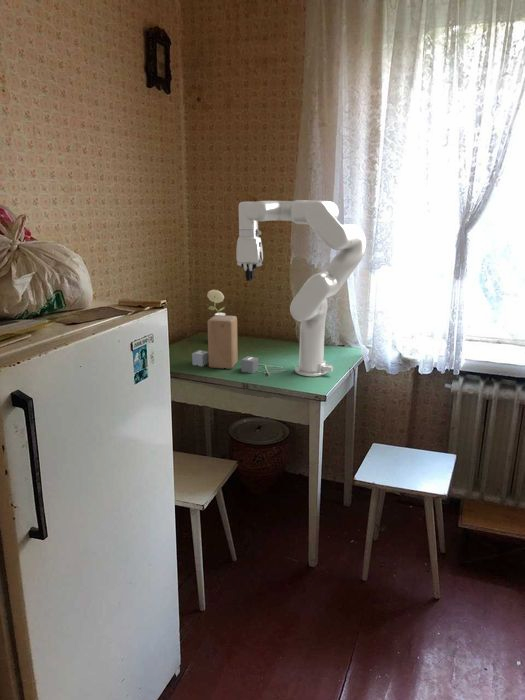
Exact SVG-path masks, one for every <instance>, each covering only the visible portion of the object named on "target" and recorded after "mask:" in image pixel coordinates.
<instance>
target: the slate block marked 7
mask: <svg viewBox="0 0 525 700" xmlns="http://www.w3.org/2000/svg"><path fill="white" fill-rule="evenodd" d="M191 357H192V358H191V359H192V366H196V365H198V366H197V367H202V366H203V367H205V366H207V365H209V364H208V363H209V356H208V351H205V350H199V349H198V350H196V351H193V352H192V353H191ZM206 364H207V365H206ZM204 365H205V366H204Z"/></svg>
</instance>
